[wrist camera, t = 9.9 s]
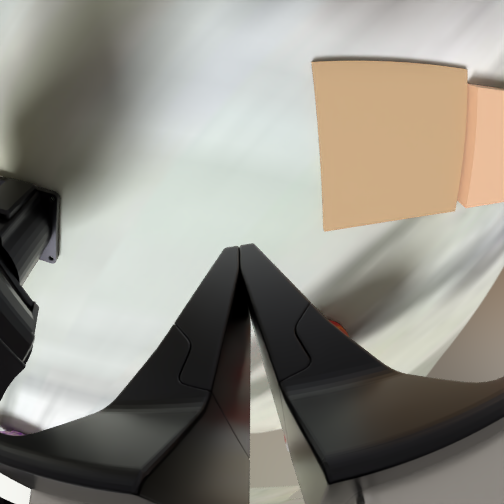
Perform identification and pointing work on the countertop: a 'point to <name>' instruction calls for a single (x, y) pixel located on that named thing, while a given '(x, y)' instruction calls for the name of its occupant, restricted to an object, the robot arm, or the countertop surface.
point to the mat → (388, 139)
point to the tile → (483, 148)
